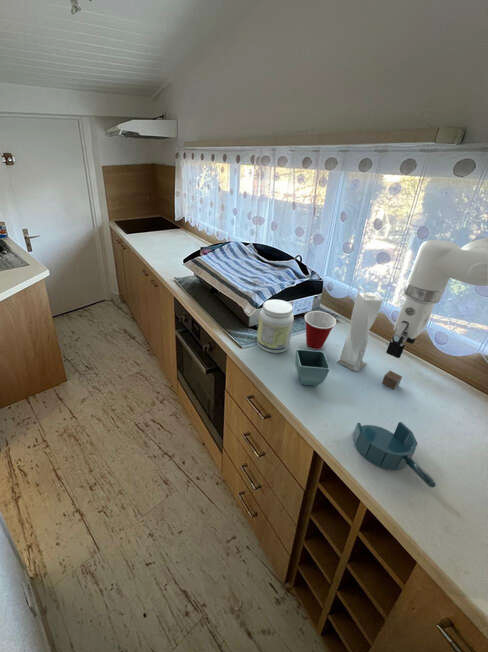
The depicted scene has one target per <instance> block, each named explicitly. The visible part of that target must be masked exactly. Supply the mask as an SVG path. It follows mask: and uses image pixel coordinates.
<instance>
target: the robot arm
mask: <svg viewBox="0 0 488 652" xmlns="http://www.w3.org/2000/svg"><path fill="white" fill-rule="evenodd" d="M450 279H452V280H455V281H458V282H461V283H464V284H468V285H470V286H471V285H472V286H475V287H476V286H479V287H484V286H485V287H486V286H488V237H483V238H479V239H476V240H473V241H470V242H468V243H466V244H464V245H463V246H462V247H461V246H460V245H459V244H457V243H455V242H453V241H448V240H442V239H428V240H425V241H424V242H422V243H421V244H420V246H419V248H418V251H417V253H416V257H415V260H414V262H413V264H412V268H411V270H410V273H409V275H408V278H407V281H406V283H405V286H404V289H403V292H402V295H403V296H404V297H405V299H404V301H403V304H402V306H401V308H400V311H399V313H398V315H397V318H396V320H395V323H394V326H393V333H394V334H393V336H392V337H391V339H390V340H389V343H388V346H387V349H386V351H385V354H388V355H390V356H392V357H394V358H397V359H400V358H401V356H402V354H403V352H404V349H405V347H406V345H405V343H409V344H410V345H414V344H415V342H416V339H417V338H418V337H419V335H421V333H422V332H423V331H424V330H425V329H426V327H427V325H428V322H429V319H430V317H431V316H432V315H431V314H432V312H433V309H434V306H435V305H436V304H439V303H440V302H441V299H442V297H443V294H444V292H445V290H446V288H447V286H448V283H449V281H450Z"/></svg>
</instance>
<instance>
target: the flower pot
mask: <svg viewBox="0 0 488 652" xmlns="http://www.w3.org/2000/svg"><path fill="white" fill-rule="evenodd" d="M294 361H295V369H296V374H297V378H298V382H299V383H300V385H303V386H304V385H305V386H313V387H314V386H315V387H316V386H319V385H322V383H324V382H325V380H326V378H327V377H328V375H329V372H330V370H331V367H330V364H329V361H328V358H327V356H326V353H325V351H322V350H310V349H300V348H299V349H298V348H297V349H295V360H294Z"/></svg>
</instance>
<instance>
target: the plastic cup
mask: <svg viewBox="0 0 488 652" xmlns="http://www.w3.org/2000/svg"><path fill="white" fill-rule="evenodd" d="M304 320H305V343H306V346H307V347H309V348H310V349H313V350H320V349H322V348H323V347H324V344H325V342H326V341H327V339H328V337H329V335H330V333H331V331H332V329H333V328H334V327H335V326H336V325H337V319H336V317H334V316H333V315H332V314H330V313H327V312H325V311H321V310H312V311H308V312H306V313H305V314H304Z"/></svg>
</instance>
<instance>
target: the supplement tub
mask: <svg viewBox="0 0 488 652" xmlns="http://www.w3.org/2000/svg"><path fill="white" fill-rule="evenodd" d="M293 310H294V307H293V305H292V304H291V303H290V302H288V301H286V300H282V299H268V300H266V301H264V302H263V304H262V309H261V310H260V311H259V315H258V325H257V332H256V333H257V335H256V343H257V345H258V346H259V348H261V350H263V351H266V352H269V353H272V354H273V353H274V354H278V353H279V354H280V353H283V352H285V351H286V350H288V349H289V346H290V343H291V336H292V331H293V326H294V320H295V317H294V311H293Z"/></svg>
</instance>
